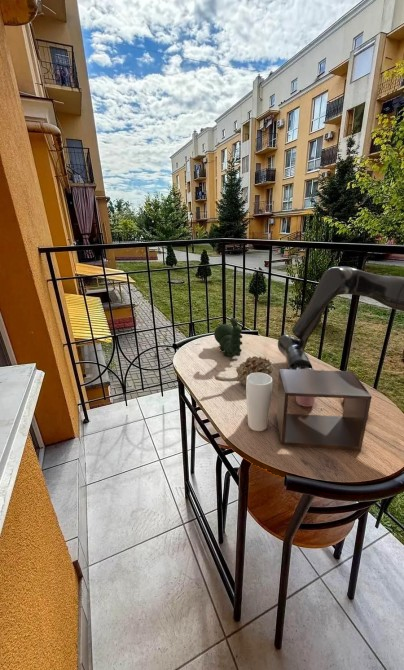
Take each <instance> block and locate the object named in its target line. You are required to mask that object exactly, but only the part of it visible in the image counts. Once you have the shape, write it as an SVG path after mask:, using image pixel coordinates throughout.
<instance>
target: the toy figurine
mask: <svg viewBox="0 0 404 670" xmlns="http://www.w3.org/2000/svg"><path fill="white" fill-rule="evenodd" d="M230 324H231V325H229V324H227V323H222V324H220V323H219V324H218V326H217V327H216V328H215V330H214V332H213V335H214V340H215V341H216V342H217V343H218V344H219V351H220V352H223V356H226V357H228V358H232V356H234V355H235V356H236V357H241V353H242V348H241V346H242V345H243V344H244V343H243V341H242V340H241V339H243V334H241V333H242V332H243V330H242V329H241V327H240V326H238V324H239V323H238V320H237V319H236V318H234V317H232V318H230Z"/></svg>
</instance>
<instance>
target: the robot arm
mask: <svg viewBox="0 0 404 670" xmlns="http://www.w3.org/2000/svg"><path fill="white" fill-rule="evenodd" d="M342 295H354V296H359V297H365V298H369V299H372V300H374V301H375V302H378V303H380V304H381V305H383V306H385V307H387V308H389V309H393V310H396V311H400V312H404V276H396V275H385V274H384V275H381V274H377V273H376V274H375V273H371V272H367V271H364V270H361V269H358V268H355V267H351V266H333V267H330V268H328V269H326V270H325V271H324V272H323V274H322V275H321V278H319V281H318V283H317V286H316V288H315V291H314V292H313V294H312V296H311V298H310V300H309V302H308V304H307V306H306V307H305V309H304V311H303V312H302V314H301V315H300V316H299V318H298V320H297V321H296V322H295V324H293V327H292V330H291V331H292V332H291V333H292V334H293V335H294V336H293V335H290V334H283V335H280V337H279V338H278V340H277V348H278V351H279V352H280V353H281V354H282V355H283V357H285V361H286V367H287V369H289V370H301V369H311V370H315V368H314V367H313V364H312V363H311V361H310V359H309V356H308V355H307V354H306V353H305V349H306V346H307V343H308V341H309V339H310V337H311V335H312V334H313V333H314V331H316V330H317V328H318V326H319V325H320V323H321V320H322V318H323V315H324V311H325V309H326V308H327V306H328V305H329V304H330V303H331V302H332V301H333V300H334V299H335V298H336V297H337V296H342ZM321 370H322V371H325V370H324V369H321Z"/></svg>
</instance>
